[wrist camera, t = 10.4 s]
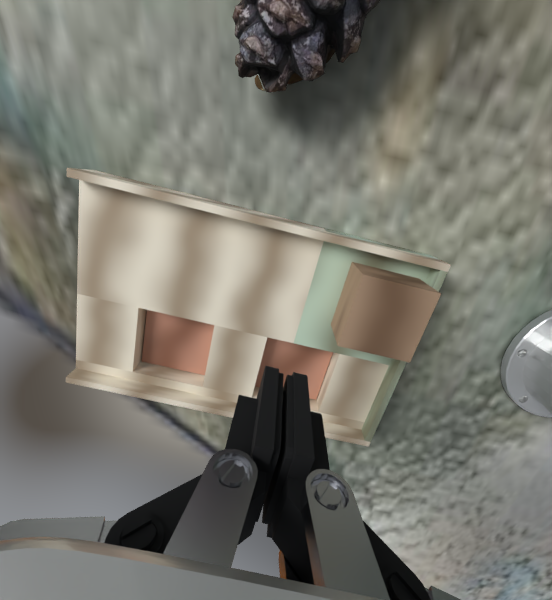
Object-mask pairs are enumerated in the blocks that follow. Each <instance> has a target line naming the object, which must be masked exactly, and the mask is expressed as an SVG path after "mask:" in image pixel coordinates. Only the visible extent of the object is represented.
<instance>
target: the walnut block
mask: <svg viewBox="0 0 552 600" xmlns="http://www.w3.org/2000/svg"><path fill="white" fill-rule="evenodd" d="M440 296H441V293H439V292H438V291H437V290H435V289H434V288H432V287H431V286H429V285H428V284H426V283H425V282H424V281H422V280H421V279H419V278H415V277H411V276H407V275H403V274H399V273H395V272H391V271H387V270H383V269H379V268H375V267H371V266H367V265H363V264H359V263H355V262H352V263H351V266H350V269H349V272H348V275H347V278H346V280H345V283H344V286H343V289H342V292H341V295H340V298H339V301H338V304H337V307H336V310H335V313H334V316H333V319H332V322H331V327H332V330H333V333H334V336H335V339H336V342H337V345H338V346H340V347H344V348H349V349H353V350H357V351H362V352H366V353H370V354H375V355H379V356H384V357H388V358H392V359H397V360H401V361H405V362H410V361H411V359H412V357H413V355H414V352H415V350H416V348H417V346H418V344H419V342H420V339H421V337H422V335H423V333H424V331H425V328H426V326H427V324H428V322H429V320H430V317H431V315H432V313H433V311H434V309H435V307H436V304H437V302H438V300H439V298H440Z"/></svg>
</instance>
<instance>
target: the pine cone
mask: <svg viewBox="0 0 552 600" xmlns="http://www.w3.org/2000/svg"><path fill="white" fill-rule="evenodd" d="M379 1H380V0H241V2H240V4H238V5H236V7H235V10H234V14H233V19H234V22H235V25H236V27H235V36H236V37H237V38H238V39H239V44H240V53H239V54H237V55H236V58H235V64H236V66H237V67H238V72H239V76H240V77H242V78H243V77H252V76H254V75H257V74H259V76H260V78H261V80H262V83H263V86H264V88H265V90H266V92H277V91H284V90H286V88H287V84H292V83H295V82H298V81H301V80H305V81H313V80H314V79H316V78H318V77H320V76H321V75H323V74H324V68H325V65H326V63H327V62H328V61H329V60H330V59H331V57H332V56H333V55H334V53H335V52H336V55H337V58H338V62H342V63H343V62H344V61H345V59H346V58H347V57H348V56H349V55H350V54H352V53H355V52H357V50H358V48H359V45H360V42H361V32H362V28H363V24H364V19H365V17H366V15H367V14H368V13H369V12H370V11H371V10H372V9H373V8H374V7H375V6H376V5H377V4H378V3H379ZM255 84H256V86H257V87H258V89H260V90H263V91H264V89H263V87H262V85H261V82H260V79H259V77H258V75H257V76H256V78H255Z"/></svg>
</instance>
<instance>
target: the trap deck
mask: <svg viewBox="0 0 552 600" xmlns="http://www.w3.org/2000/svg"><path fill="white" fill-rule="evenodd" d="M67 177H71V178H75V179H79V226H78V283H77V339H76V369H75V370H73V371H72V372H71V373H70V374H69V375H68V376H67V377H66V382H67V383H72V384H76V385H81V386H86V387H90V388H95V389H100V390H105V391H109V392H114V393H119V394H123V395H128V396H133V397H138V398H142V399H147V400H152V401H156V402H161V403H166V404H171V405H175V406H180V407H185V408H189V409H194V410H199V411H203V412H208V413H213V414H218V415H222V416H227V417H232V418H233V416H234V412H235V408H236V404H237V400H238V396H239V395H243V396H247V397H251V398H256V399H257V395H258V391H259V387H260V384H261V380H262V376H263V372H264V369H265V366H270V367H274V368H278V369H279V373H283V374H284V377H283V387H284V383H285V380H286V377H287V375H292V374H293V372H295V373H299V374H304V375H307V377H308V388H309V399H310V411H312V412H316V413H321V415H322V418H323V425H324V433H325V437H326V438H331V439H335V440H340V441H345V442H349V443H354V444H359V445H364V446H368V447H369V445H370V442H371V440H372V438H373V436H374V434H375V431H376V429H377V427H378V425H379V423H380V420H381V418H382V416H383V414H384V411H385V409H386V407H387V405H388V403H389V400H390V398H391V396H392V394H393V392H394V389H395V387H396V385H397V383H398V381H399V378H400V376H401V374H402V372H403V370H404V367H405V365H406V363H407V362H405V361H401V360H397V359H392V358H388V357H384V356H379V355H375V354H370V353H366V352H362V351H357V350H353V349H349V348H344V347H340V346H338V345H337V342H336V339H335V336H334V333H333V330H332V327H331V322H332V319H333V316H334V313H335V310H336V307H337V304H338V301H339V298H340V295H341V292H342V289H343V286H344V283H345V280H346V278H347V275H348V272H349V269H350V266H351V263H352V262H355V263H359V264H363V265H367V266H371V267H375V268H379V269H383V270H387V271H391V272H395V273H399V274H403V275H407V276H411V277H415V278H419V279H421V280H422V281H424V282H425V283H426V284H428V285H429V286H431V287H432V288H434V289H435V290H437V291H438V292H439V290H440V288H441V286H442V284H443V281H444V279H445V277H446V275H447V272H448V270H449V268H450V266H451V265H450V264H448V263H446V262H444V261H442V260H440V259H438V258H436V257H433V256H431V255H427V254H423V253H420V252H416V251H412V250H408V249H404V248H400V247H396V246H392V245H388V244H384V243H380V242H376V241H372V240H368V239H364V238H360V237H356V236H352V235H348V234H345V233H341V232H337V231H333V230H329V229H325V228H321V227H317V226H313V225H309V224H305V223H301V222H297V221H293V220H289V219H285V218H281V217H277V216H273V215H269V214H266V213H262V212H258V211H254V210H250V209H246V208H242V207H238V206H234V205H230V204H226V203H222V202H218V201H214V200H210V199H206V198H202V197H198V196H194V195H191V194H187V193H183V192H179V191H175V190H171V189H167V188H163V187H159V186H155V185H151V184H147V183H143V182H139V181H135V180H131V179H127V178H123V177H119V176H115V175H112V174H108V173H104V172H100V171H96V170H86V169H74V168H67ZM146 312H147V314H146ZM145 321H146V324H145ZM144 331H145V334H144ZM143 341H144V343H143ZM142 350H143V353H142ZM332 354H333V355H332ZM331 357H332V358H331ZM330 359H331V361H330ZM141 360H142V361H141ZM329 362H330V363H329ZM328 365H329V366H328ZM327 368H328V369H327ZM326 371H327V372H326ZM325 374H326V375H325ZM324 377H325V378H324ZM323 379H324V380H323ZM322 382H323V383H322ZM321 385H322V386H321ZM320 388H321V389H320ZM319 391H320V392H319ZM318 394H319V395H318ZM317 396H318V398H317Z"/></svg>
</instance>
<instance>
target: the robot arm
mask: <svg viewBox="0 0 552 600" xmlns="http://www.w3.org/2000/svg"><path fill="white" fill-rule="evenodd" d="M283 377H284V374H283V373H279V369H278V368H274V367H270V366H265V369H264V372H263V376H262V380H261V384H260V387H259V391H258V395H257V399H256V398H251V397H247V396H243V395H239V396H238V400H237V404H236V408H235V412H234V416H233V420H232V424H231V428H230V432H229V436H228V440H227V444H226V448H225V449H224V450H221V451H219V452H217V453H216V454H214V455H213V456H212V458H211V459H210V461H209V462H208V464H207V466H206V468H205V470H204V472H203V474H202V475H200V476H198V477H196V478H194V479H192V480H191V481H188V482H186V483H184V484H183V485H181V486H179V487H177V488H175V489H173V490H171V491H169V492H167V493H165V494H163V495H162V496H160V497H158V498H156V499H154V500H152V501H150V502H148V503H146V504H144V505H143V506H141V507H139V508H137V509H135V510H133V511H131V512H129V513H127V514H126V515H124V516H123V517H121V518H120V519H119V520H118V521H105V517H76V518H46V519H22V520H17V521H11V522H9V523H7V524H4V525H2V526H0V600H461V599H458V598H456V597H454V596H452V595H450V594H448V593H446V592H444V591H442V590H439V589H437V588H435V587H433V586H430V588H429V589H427V588H425V587H424V586H423V584H422V583H421V581H420V580H419V579H418V578H417V576H416V575H415V574H414V573H413V572H412V571H411V570H410V569H409V568H408V567H407V566H406V565H405V564H404V563H403V562H402V561H401V560H400V558H399V557H398V556H397V555H396V554H395V553H394V552H393V551H392V550H391V549H390V548H389V547H388V546H387V545H386V544H385V543H384V542H383V541H382V540H381V539H380V538H379V537H378V536H377V535H376V534H375V533H374V532H373V531H372V529H371V528H370V527H369V526H368V525H367V524H366V523H365V522H364V521H363V520H362V517H361V514H360V511H359V509H358V506H357V503H356V500H355V497H354V494H353V492H352V490H351V488H350V486H349V484H348V483H347V482H346V481H345V480H344V479H343V478H342V477H341V476H340V475H338V474H337V473H335V472H333V471H331V470H330V469H329V462H328V455H327V447H326V440H325V433H324V425H323V418H322V415H321V413H316V412H312V411H310V399H309V388H308V377H307V375H304V374H299V373H295V372H293V374H292V375H287V377H286V380H285V383H284V387H283ZM501 381H502V385H503V388H504V390H505V391H506V393H507V395H508V396H509V397H510V398H511V399H512V400H513V401H514V402H515V403H516V404H517V405H518V406H520V407H521V408H522V409H524V410H525V411H527V412H530V413H532V414H534V415H538V416H543V417H552V310H550V311H548V312H545V313H544V314H542V315H540V316H539V317H537V318H535V319H534V320H532V321H531V322H530V323H529V324H528V325H526V326H525V327H524V328H523V329H522V330H521V331H520V332H519V333H518V334H517V335H516V336H515V338H514V339H513V340H512V342H511V343H510V345H509V346H508V348H507V350H506V352H505V355H504V357H503V360H502V365H501ZM263 504H264V505H263ZM262 507H263V517H262V523H265V524H268V530H267V537H271V538H272V539H273V540H274V542H275V543H276V545H277V546H278V548H279V549H280V551H279V559H278V560H279V572H280V578H278V577H273V576H268V575H263V574H259V573H254V572H249V571H244V570H240V569H235V568H231V565H232V562H233V559H234V555H235V552H236V548H237V545H238V544H240V543H241V542H242V541H243V540H245V539H246V538H247V537H249V536H250V535H251V534H252V531H253V528H254V525H255V522H258V519H259V516H260V513H261V510H262Z"/></svg>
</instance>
